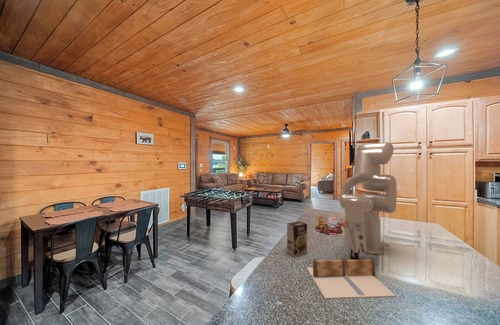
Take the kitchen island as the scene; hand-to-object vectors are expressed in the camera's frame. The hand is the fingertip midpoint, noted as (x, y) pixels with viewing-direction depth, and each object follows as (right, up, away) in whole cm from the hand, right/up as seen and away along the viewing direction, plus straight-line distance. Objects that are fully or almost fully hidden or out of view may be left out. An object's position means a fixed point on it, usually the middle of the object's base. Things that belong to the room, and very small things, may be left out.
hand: (354, 264), depth 87 cm
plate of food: (+13, -3, +52) cm, 53 cm away
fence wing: (0, -1, -5) cm, 6 cm away
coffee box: (-22, -3, +16) cm, 28 cm away
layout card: (-9, -2, -9) cm, 12 cm away
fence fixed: (-14, -2, -6) cm, 15 cm away
